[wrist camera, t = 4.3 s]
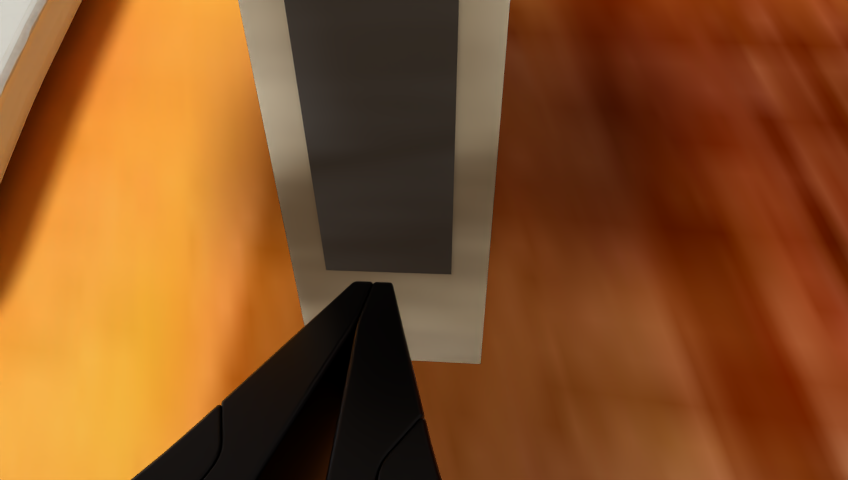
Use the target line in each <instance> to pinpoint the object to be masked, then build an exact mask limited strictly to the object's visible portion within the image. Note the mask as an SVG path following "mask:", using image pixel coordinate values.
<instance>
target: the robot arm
mask: <svg viewBox="0 0 848 480" xmlns="http://www.w3.org/2000/svg"><path fill="white" fill-rule="evenodd" d="M131 480H442V479H441V476H440V472H439V469H438V465H437V462H436V458H435V455H434V451H433V447H432V444H431V440H430V436H429V431H428V427H427V423H426V420H425V419H424V412H423V407H422V403H421V399H420V395H419V391H418V387H417V382H416V378H415V374H414V370H413V366H412V362H411V358H410V353H409V349H408V345H407V341H406V337H405V333H404V328H403V324H402V320H401V316H400V312H399V308H398V304H397V299H396V295H395V291H394V287H393V284H392V283H391V282H375V283H372V282H369V281H355V282H353V283H351V284H350V285H349V286H348V287H347V288H346V289H345V290H344V291H343V292H342V293H341V294H339V295H338V296H337V297H336V298H335V299H334V300H333V301H332V302H331V303H330V304H328V305H327V306H326V307H325V308H324V309H323V310H322V311H321V312H320V313H319V314H317V315H316V316H315V317H314V318H313V319H312V320H311V321H310V322H309V323H308V324H306V325H305V326H304V327H303V328H302V329H301V330H300V331H299V332H298V333H297V334H295V335H294V336H293V337H292V338H291V339H290V340H289V341H288V342H287V343H286V344H284V345H283V346H282V347H281V348H280V349H279V350H278V351H277V352H276V353H275V354H273V355H272V356H271V357H270V358H269V359H268V360H267V361H266V362H265V363H264V364H262V365H261V366H260V367H259V368H258V369H257V370H256V371H255V372H254V373H253V374H251V375H250V376H249V377H248V378H247V379H246V380H245V381H244V382H243V383H242V384H241V385H239V386H238V387H237V388H236V389H235V390H234V391H233V392H232V393H231V394H230V395H228V396H227V397H226V398H225V399H224V400H223V401H222V406H221V405H217V406H216V407H215V408H214V409H213V410H212V411H211V412H210V413H208V414H207V415H206V416H205V417H204V418H203V419H202V420H201V421H200V422H199V423H197V424H196V425H195V426H194V427H193V428H192V429H191V430H189V431H188V432H187V433H186V434H185V435H184V436H183V437H181V438H180V439H179V440H178V441H177V442H176V443H175V444H173V445H172V446H171V447H170V448H169V449H168V450H167V451H165V452H164V453H163V454H162V455H161V456H159V457H158V458H157V459H156V460H154V461H153V462H152V463H151V464H150V465H148V466H147V467H146V468H145V469H143V470H142V471H141V472H140V473H139V474H137V475H136V476H135V477H134V478H132V479H131Z"/></svg>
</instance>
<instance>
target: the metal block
mask: <svg viewBox="0 0 848 480" xmlns="http://www.w3.org/2000/svg"><path fill="white" fill-rule="evenodd" d="M238 2H239V7H240V12H241V16H242V21H243V26H244V31H245V36H246V41H247V46H248V51H249V56H250V61H251V65H252V70H253V75H254V80H255V85H256V90H257V95H258V100H259V105H260V110H261V114H262V119H263V124H264V129H265V134H266V139H267V144H268V149H269V154H270V159H271V163H272V168H273V173H274V178H275V183H276V188H277V193H278V198H279V203H280V208H281V212H282V217H283V222H284V227H285V232H286V237H287V242H288V247H289V252H290V257H291V261H292V266H293V271H294V276H295V281H296V286H297V291H298V296H299V301H300V306H301V310H302V315H303V320H304V325H306V324H308V323H309V322H310V321H311V320H312V319H313V318H314V317H315V316H316V315H317V314H319V313H320V312H321V311H322V310H323V309H324V308H325V307H326V306H327V305H328V304H330V303H331V302H332V301H333V300H334V299H335V298H336V297H337V296H338V295H339V294H341V293H342V292H343V291H344V290H345V289H346V288H347V287H348V286H349V285H350V284H351V283H353V282H355V281H369V282H372V283H375V282H391V283H392V284H393V287H394V291H395V295H396V299H397V304H398V308H399V312H400V316H401V320H402V324H403V328H404V333H405V337H406V341H407V345H408V349H409V353H410V358H411V360H416V361H434V362H453V363H472V364H480V363H481V351H482V338H483V326H484V314H485V302H486V289H487V277H488V265H489V253H490V240H491V228H492V216H493V203H494V191H495V179H496V167H497V154H498V142H499V130H500V117H501V105H502V93H503V81H504V68H505V56H506V44H507V31H508V19H509V7H510V0H238Z"/></svg>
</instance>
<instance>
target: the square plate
mask: <svg viewBox="0 0 848 480" xmlns="http://www.w3.org/2000/svg"><path fill="white" fill-rule="evenodd" d="M81 1H82V0H0V184H1V181H2V179H3V176H4V174H5V171H6V168H7V166H8V163H9V161H10V158H11V156H12V153H13V151H14V148H15V146H16V143H17V141H18V138H19V136H20V134H21V131H22V129H23V126H24V124H25V122H26V119H27V117H28V114H29V112H30V109H31V107H32V105H33V102H34V100H35V98H36V96H37V93H38V91H39V89H40V87H41V85H42V82H43V80H44V78H45V76H46V74H47V72H48V70H49V67H50V65H51V63H52V61H53V59H54V57H55V55H56V53H57V51H58V49H59V47H60V45H61V43H62V41H63V39H64V36H65V34H66V32H67V30H68V28H69V26H70V24H71V22H72V20H73V18H74V16H75V14H76V12H77V10H78V7H79V5H80V3H81Z"/></svg>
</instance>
